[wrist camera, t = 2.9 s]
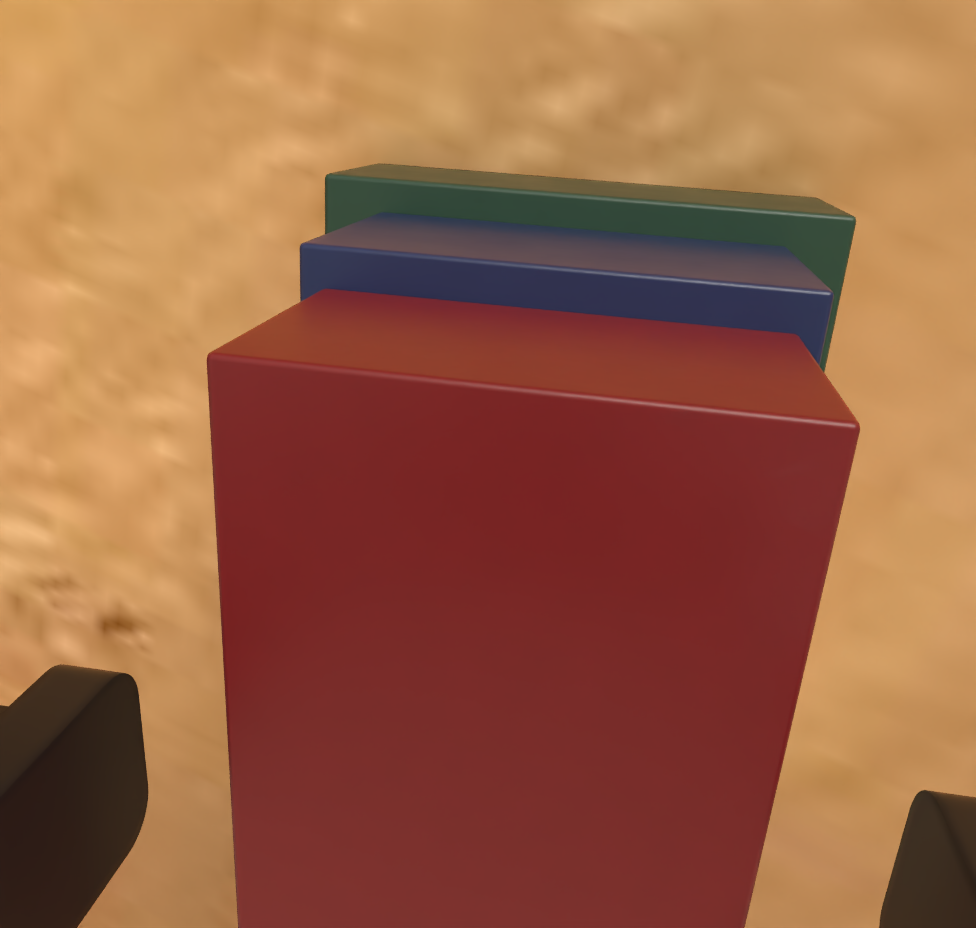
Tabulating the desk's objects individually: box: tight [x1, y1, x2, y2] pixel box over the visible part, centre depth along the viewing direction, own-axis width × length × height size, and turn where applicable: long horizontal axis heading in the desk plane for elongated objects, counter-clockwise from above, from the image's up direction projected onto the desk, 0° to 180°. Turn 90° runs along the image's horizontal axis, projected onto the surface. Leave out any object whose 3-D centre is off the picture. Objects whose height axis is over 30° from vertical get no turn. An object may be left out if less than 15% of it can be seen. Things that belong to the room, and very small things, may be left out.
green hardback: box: [325, 164, 856, 372], centre depth 17 cm, size 10×8×3 cm
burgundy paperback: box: [207, 289, 860, 928], centre depth 11 cm, size 8×6×3 cm
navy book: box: [300, 212, 834, 366], centre depth 14 cm, size 9×6×4 cm
